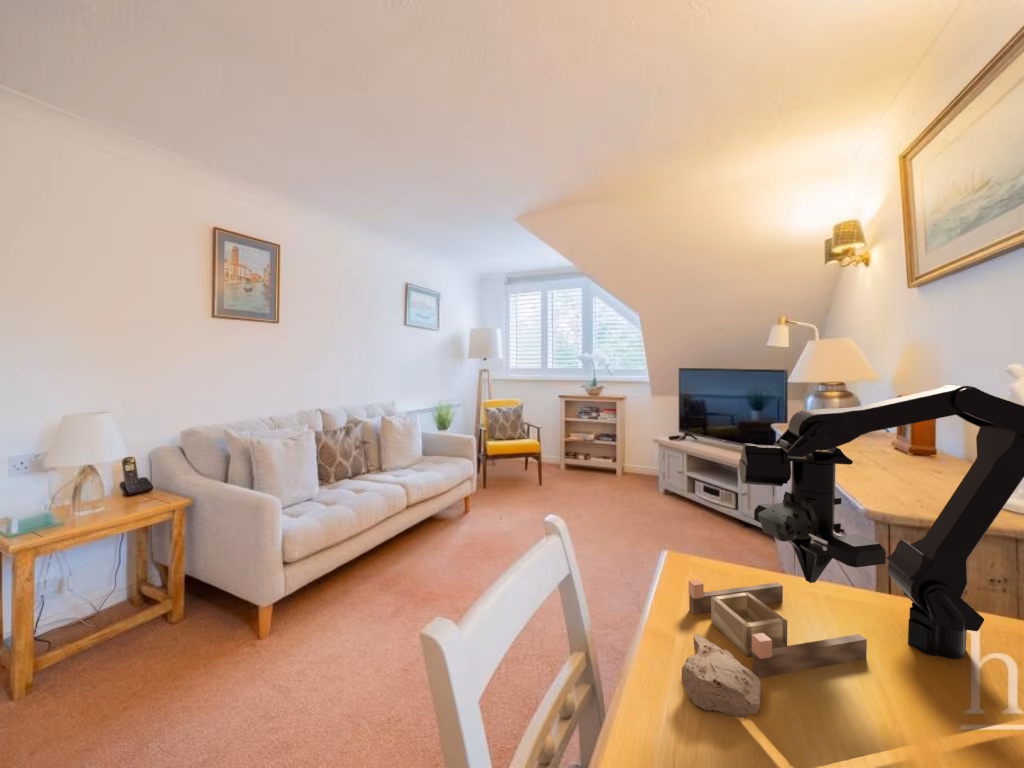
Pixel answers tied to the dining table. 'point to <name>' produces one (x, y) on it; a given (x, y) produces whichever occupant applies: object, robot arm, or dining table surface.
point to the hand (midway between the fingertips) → (810, 581)
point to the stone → (720, 681)
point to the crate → (747, 620)
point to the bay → (788, 656)
